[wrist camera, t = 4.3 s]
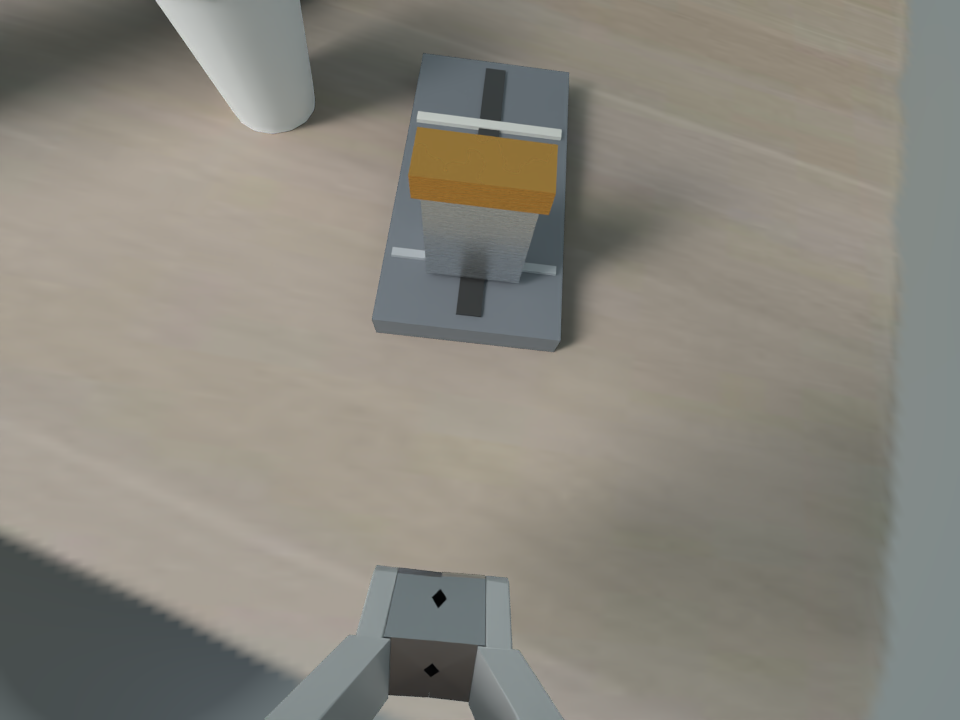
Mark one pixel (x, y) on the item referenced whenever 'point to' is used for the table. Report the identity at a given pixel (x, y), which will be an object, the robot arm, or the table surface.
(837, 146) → the table surface
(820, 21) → the table surface
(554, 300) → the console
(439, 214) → the plate
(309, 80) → the foam cup
